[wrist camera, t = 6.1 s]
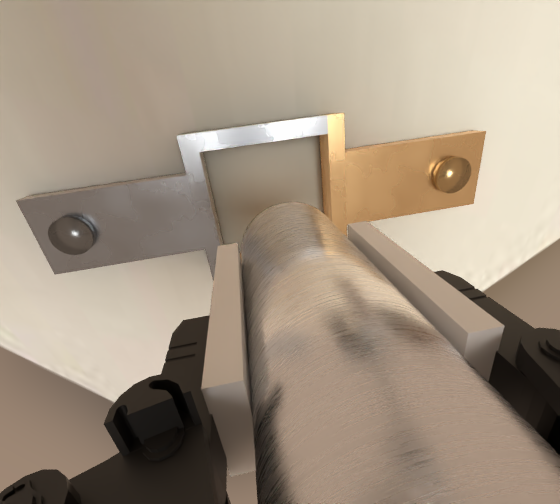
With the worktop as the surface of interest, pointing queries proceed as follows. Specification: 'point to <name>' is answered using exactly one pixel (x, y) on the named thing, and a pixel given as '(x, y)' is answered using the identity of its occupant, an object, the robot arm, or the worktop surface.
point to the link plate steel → (147, 206)
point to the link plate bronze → (396, 175)
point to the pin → (368, 385)
